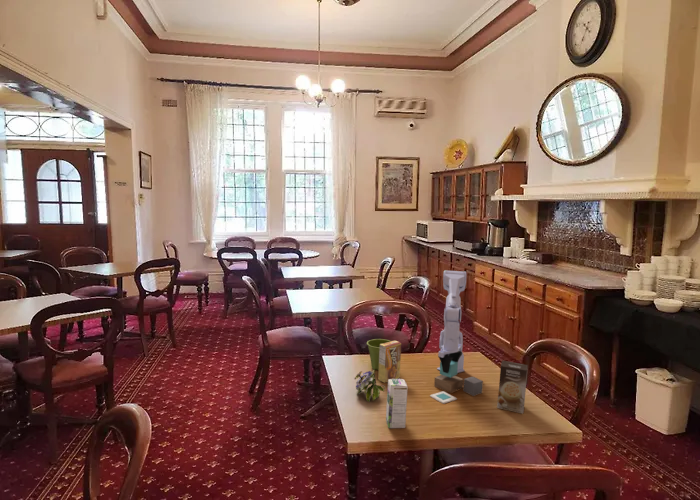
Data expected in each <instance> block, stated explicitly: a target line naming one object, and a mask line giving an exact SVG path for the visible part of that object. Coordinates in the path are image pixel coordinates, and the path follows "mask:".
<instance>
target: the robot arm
mask: <svg viewBox="0 0 700 500" xmlns="http://www.w3.org/2000/svg"><path fill="white" fill-rule="evenodd" d="M442 277H443V278H442V283H443V285H442V286H443V290H445V291H447V296H446V299H445V308H444V310H443V311H444V312H443V322H444V323H443V325H444V329H443V330H441V331H440V334H439V335H440V336H439V346H438V348H439V349H440V350H439V351H438V354H437V356H438V358H439V362H441V364H442V369H443V372H445V373H448V372H449V368H450V363H451V361H456V362H458V369H457V374H458V373H462V372H465V371H466V370H465V369H464V363H465V355H464V352H463V344H464V343H463V342H464V338H463V336H464V335H463V333H462V332H461V331H460V325H461V324H460V323H461V322H462V321H461V320H462V306H461V304H462V303H461V300H462V299H461V296H460V294H461V293H462V292H464V291H465V289H466V285H467V271H462V270H461V271H459V270H458V271H457V270H447V269H445V270H444V271H443V275H442ZM436 369H437V370H439V371H440V366H439V367H436Z"/></svg>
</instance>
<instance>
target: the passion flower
mask: <svg viewBox="0 0 700 500" xmlns="http://www.w3.org/2000/svg"><path fill="white" fill-rule="evenodd" d="M375 372H376V369H372V371H371V370H369V371H366V372H363V370H361V371H359V373H357V374H356V375H355V377H354V380H357V379H358V380H357V381H356V385H355V390H357V391H356V395H359V394H360V393H361V392H362V391H364V393H365V399H366V402H368V403H370V402H371V401H370V400H371V398H372V401H375V400H377V399H378V398H379V396H380V393H381V392H383V393H384V392H385V389H386V388H385V387H386V385H377V379H376V373H375ZM362 373H363V374H362ZM380 391H381V392H380Z"/></svg>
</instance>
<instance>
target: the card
mask: <svg viewBox="0 0 700 500" xmlns="http://www.w3.org/2000/svg"><path fill="white" fill-rule="evenodd" d="M429 397H431V399H434V400H436V401H437V402H439V403H441V404H443V405H444V404H447V403H450V402H453V401H456V400H458V398H457V397H456V396H453V395H451V393H449V392H446V391H444V390H442V391H439V392H436V393H432V394H430V395H429Z"/></svg>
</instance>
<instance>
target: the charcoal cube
mask: <svg viewBox="0 0 700 500" xmlns="http://www.w3.org/2000/svg"><path fill="white" fill-rule="evenodd" d="M483 383H484V381H483V380H482V379H480V378H477V377H475V376H470V377H467V378H463V388H462V389H463V392H464V393H466V394H469V395H471V396H472V397H474V396H477V395H480V394H482V393H483V385H484V384H483Z"/></svg>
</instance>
